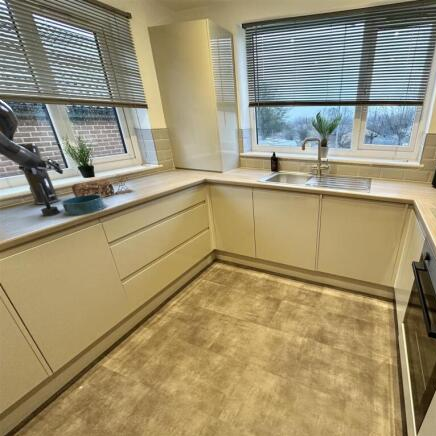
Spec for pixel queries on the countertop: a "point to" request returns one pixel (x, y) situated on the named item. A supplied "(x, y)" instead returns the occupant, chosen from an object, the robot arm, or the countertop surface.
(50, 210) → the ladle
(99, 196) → the bowl
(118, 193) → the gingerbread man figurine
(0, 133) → the robot arm
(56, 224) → the countertop surface
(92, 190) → the bread
